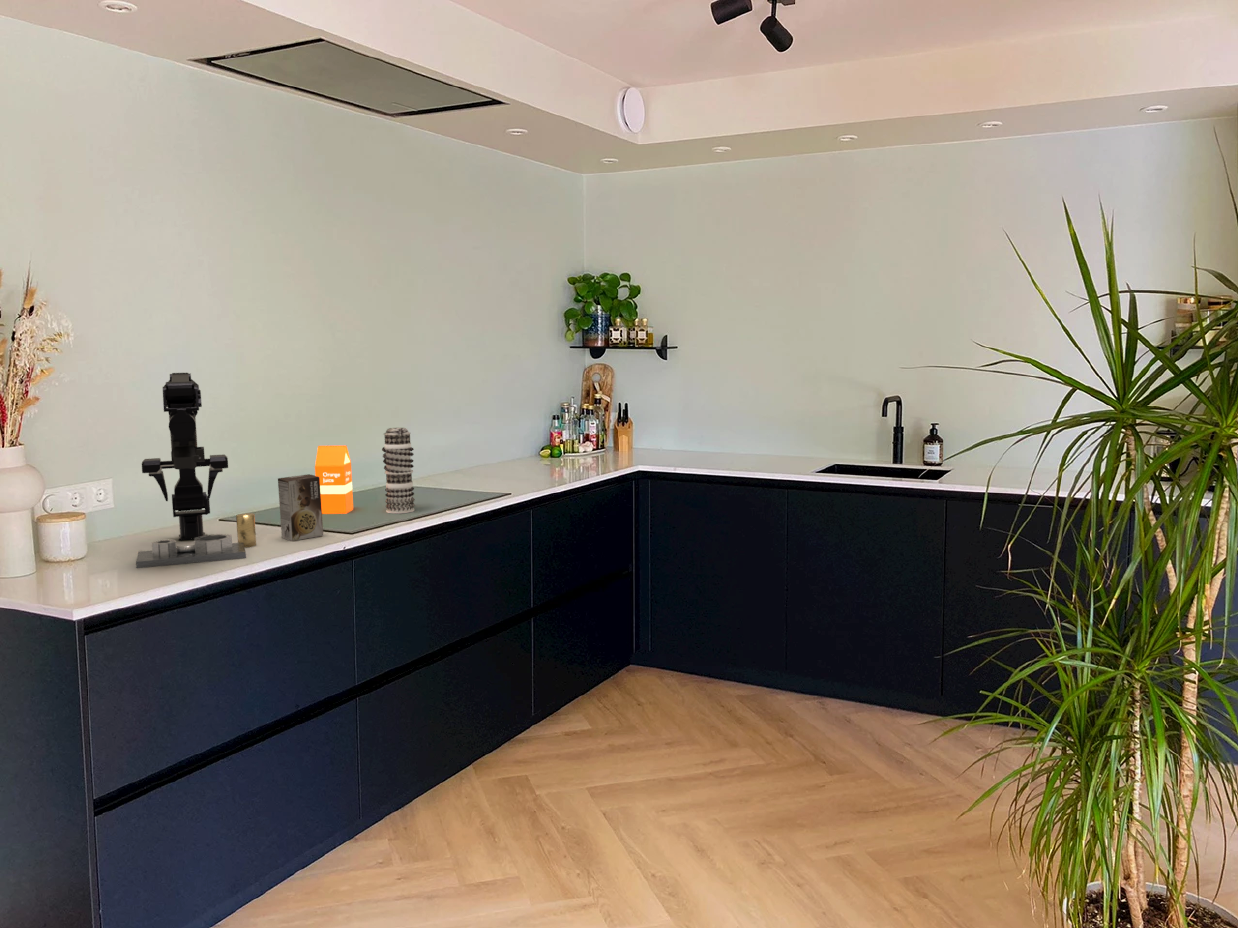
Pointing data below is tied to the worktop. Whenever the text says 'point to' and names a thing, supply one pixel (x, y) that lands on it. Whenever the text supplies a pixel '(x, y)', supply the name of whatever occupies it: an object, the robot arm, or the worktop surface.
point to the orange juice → (334, 479)
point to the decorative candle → (398, 471)
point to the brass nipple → (246, 529)
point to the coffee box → (300, 507)
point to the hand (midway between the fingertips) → (188, 499)
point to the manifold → (191, 551)
